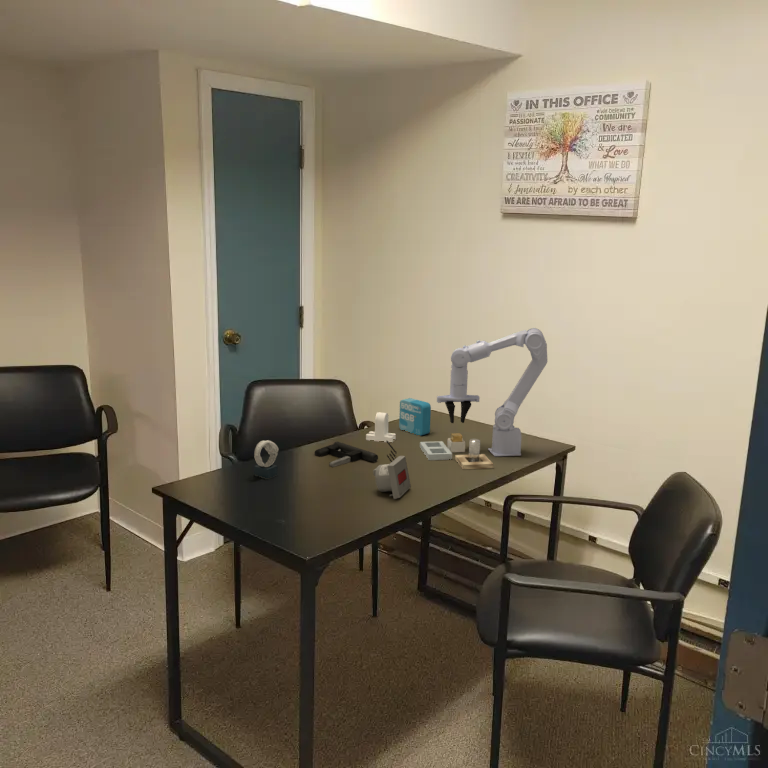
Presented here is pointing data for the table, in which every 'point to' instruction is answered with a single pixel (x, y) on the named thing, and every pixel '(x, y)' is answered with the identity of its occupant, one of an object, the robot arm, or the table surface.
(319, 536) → the table surface
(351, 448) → the submachine gun
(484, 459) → the wooden square frame
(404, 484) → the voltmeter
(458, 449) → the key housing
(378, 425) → the cable organizer
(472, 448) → the grey rounded cylinder
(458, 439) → the key
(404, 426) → the data package
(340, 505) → the table surface
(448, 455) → the frame
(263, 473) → the grey ring on stand
